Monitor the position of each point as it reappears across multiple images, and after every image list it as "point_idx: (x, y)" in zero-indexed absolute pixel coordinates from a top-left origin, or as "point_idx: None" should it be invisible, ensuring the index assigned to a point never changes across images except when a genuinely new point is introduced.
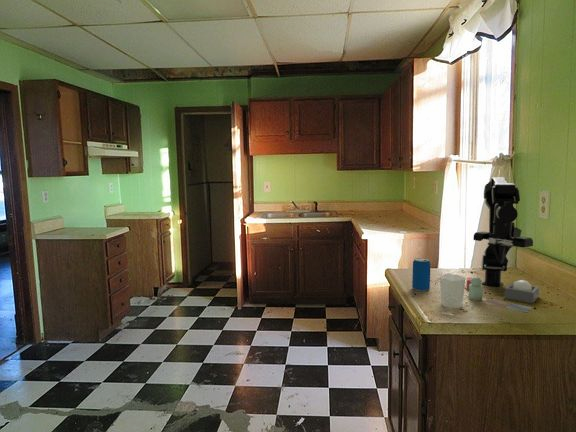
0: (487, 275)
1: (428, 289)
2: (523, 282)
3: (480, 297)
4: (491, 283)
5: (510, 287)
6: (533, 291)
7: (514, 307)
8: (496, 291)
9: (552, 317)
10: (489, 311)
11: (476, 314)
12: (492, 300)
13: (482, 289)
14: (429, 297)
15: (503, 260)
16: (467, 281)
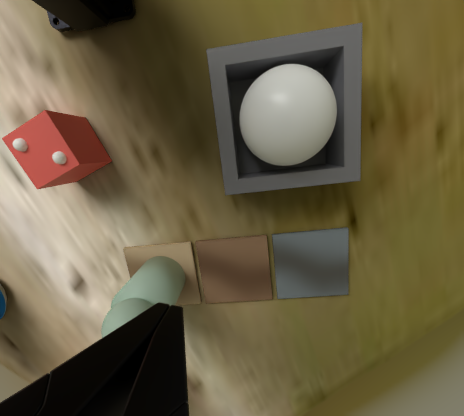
0: (37, 2)
1: (4, 300)
2: (306, 137)
3: (180, 291)
4: (95, 23)
5: (234, 143)
6: (354, 155)
7: (297, 273)
8: (160, 98)
9: (422, 277)
10: (247, 347)
11: (232, 389)
12: (211, 250)
13: (171, 300)
14: (59, 343)
15: (182, 332)
16: (44, 187)
